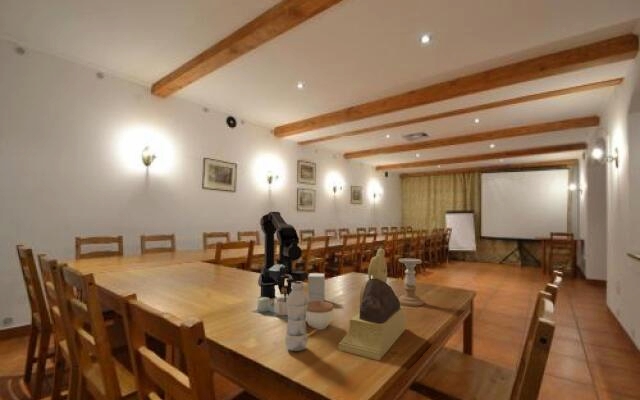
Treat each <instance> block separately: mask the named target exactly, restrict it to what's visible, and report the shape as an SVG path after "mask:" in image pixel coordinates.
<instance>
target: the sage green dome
mask: <svg viewBox="0 0 640 400" xmlns="http://www.w3.org/2000/svg"><path fill="white" fill-rule="evenodd" d="M256 303H257V304H256V305H257V308H256V310H257V312H259V313H266V312H269V311H270V303H271V299H270V298H268V297H261V296H259V298H257V302H256ZM259 313H258V314H259Z"/></svg>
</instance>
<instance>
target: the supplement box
mask: <svg viewBox="0 0 640 400" xmlns="http://www.w3.org/2000/svg"><path fill="white" fill-rule="evenodd" d="M325 274H326V273H316V272H315V273H311V272H310V273H309V274H308V279H307V280H308V281H307V297H308V302H312V301H317V300H320V301H324V302H325V295H326V294H325V293H326V292H325V291H326V290H325V286H326V285H325V284H326V282H325V278H326V277H325Z"/></svg>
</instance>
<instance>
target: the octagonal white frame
mask: <svg viewBox="0 0 640 400" xmlns="http://www.w3.org/2000/svg"><path fill="white" fill-rule="evenodd" d="M287 297H288V296H286V302H284V296H283V297H282V296H281V297H280V296H279V297H277V298H273V299H274V300H273V301H274V302H273V303H274V312H275V314H277V315H283V316H285V315H288V310H287Z"/></svg>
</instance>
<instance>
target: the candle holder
mask: <svg viewBox="0 0 640 400" xmlns="http://www.w3.org/2000/svg"><path fill="white" fill-rule="evenodd" d="M398 262H399V263H402V264H404V266H405V267H406V269H405V270H404V273H405V276H404V277H405V278H404V281H403V283H404V286H403V289H404V290H405V291H404V294H403V295H400V296H399V297H398V296H397V297H398V299H399V302H400V305H403V306H408V307H420V306H423V305H425V304H424V303H425V301H424V300H423V299H422V298H421V297H420V296H418V295H416V291H417V289H418V288H417V287H416V284H417V281H416V278H415V274H416V273H417V271H415V267H416V265H417V264H422V260H421V259H418V258H413V257H412V258H409V257H405V258H398Z"/></svg>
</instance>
